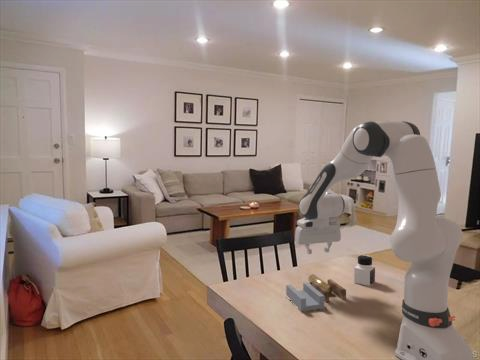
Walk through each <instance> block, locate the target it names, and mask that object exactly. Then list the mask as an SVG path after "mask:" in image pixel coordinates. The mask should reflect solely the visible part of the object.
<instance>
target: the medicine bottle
mask: <svg viewBox="0 0 480 360" xmlns="http://www.w3.org/2000/svg"><path fill="white" fill-rule="evenodd" d="M353 271H354V273H353V280H354V281H353V283H354V284H358V285H361V286H366V287H371V286H372V285H373V284H374V283H375V282H376V266H374V265H373V258H372V256H370V255H367V254H361V255H359V256H357V265H355V267H354V270H353Z"/></svg>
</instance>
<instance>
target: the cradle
mask: <svg viewBox="0 0 480 360" xmlns="http://www.w3.org/2000/svg"><path fill="white" fill-rule="evenodd" d="M285 288H286V289H285V294H286V295H287V296H288V297H289V298H290V299H291V301H292V302H293V303H294V304H295V305H296V306H297V307H298V309H299V310H300V311H305V312H309V311H308V310H313V311H318V310H317V309H320V310H325V301H324V295H323V294H321V293H320V292H319V291H318V290H316V289H315V288H314V287H313V286H312V284H311V283H310V282H303V283H302V290H298V289H296V287H294V286H293V285H292V284H286V285H285ZM291 301H290V302H291ZM292 302H291V303H292ZM293 303H292V304H293ZM294 304H293V305H294ZM295 305H294V306H295ZM298 309H297V310H298ZM299 310H298V311H299ZM300 311H299V312H300Z"/></svg>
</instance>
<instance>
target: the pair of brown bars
mask: <svg viewBox="0 0 480 360" xmlns="http://www.w3.org/2000/svg"><path fill="white" fill-rule="evenodd" d="M327 284H328V285H330V286H331V287H332V293H333V294H334V295H335V296H337V297H338V298H339V299H340V300H342V301H346V300H347V289H345V288H344V287H342V286H341V285H340V284H338V283H337V282H335V281H334V280H332V279H329V278H328V279H327ZM311 286H313V287H314V288H315V289H316V290H318V291H319V292H320V293H321V294H323V295H324V303H329V302H330V294H329V291H327V290H326V289H325V288H323V287H322V286H321V285H319V284H318V283H317V282H315V281H312V284H311Z"/></svg>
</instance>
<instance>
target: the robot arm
mask: <svg viewBox="0 0 480 360" xmlns="http://www.w3.org/2000/svg"><path fill="white" fill-rule="evenodd" d="M383 156H385V157H387V158H389V159H390V161H391V163H392V167H393V168H392V170H393V176H394V179H395V180H394V181H395V187H396V194H397V198H398V200H397V203H398V204H397V205H398V207H397V208H398V209H397V216H396V217H397V218H396V225H395V227H394V230H393V231H392V232H391V235H390V237H389V245H390V248H391V251H392V252H393V254H394V255H395V257H396V258H398V259H400V260H401V261H403V262H406V263H407V262H408V263H410V266H409V267H408V269H407V270H406V272H405V275H404V288H403V289H404V291H403V299H402V301H401V302H402V304H401V313H402V319H401V322H400V327H399V328H400V329H399V335H398V340H397V343H396V348H395V350H394V351H395V352H394V356H396V357H397V358H399V359H401V360H474V353H473V350H472V348H471V347H470V345H469V344H468V341H467V340H466V339H465V338H463V337H462V335H461V334H460V333H459V332H458V330H457V329H456V327H454V325H453V322H454V321H456V319H455V318H456V316H455V315H453V316H451V313H450V310H449V307H448V297H449V296H448V294H449V292H448V291H449V281H450V276H451V272H452V269H453V267H454V261H455V258H456V253H457V251H458V249H459V247H460V245H461V244H462V241H463V235H464V234H463V231H462V228H461V227H460V225H459V224H458V223H457V222H456V221H454V220H452V219H450V218H445V217H439V216H437V211H438V205H439V201H440V200H441V198H442V193H441V188H440V182H439V178H438V177H439V176H438V172H437V166H436V161H435V159H434V155H433V152H432V149H431V146H430V145H429V142H428V140H427V138H425V137H424V136H423V135H421V132H420V129H419V128H418V126H417V125H415V124H414V123H412V122H410V121H404V120H402V121H397V120H396V121H395V120H387V119H386V120H377V121H366V122H363V123H361V124H358V125H356V126H355V127H354V128H353V129H352V130H351V131H350V132H349V134H348V135H347V137H346V139H345V141H344V143H343V144H342V146H341V147H340V150H339V152H338V153H337V155H335V157H334V158H333V159H332V160H331V161H329V162H328V163H327V164H325V166H324V167H323V168H322V169H321V171H320V172H319V174H318V175H317V177H316V179H315V180H314V181H313V183H312V184H311V185H310V186H309V189H308V190H307V192H306V193H305V194H304V195H302V198H300V201H299V202H298V203H299V204H298V210H299V213H300V215H301V216H302V218H300V219H298V220H297V221H296V224H297V226H296V229H295V232H294V233H295V237H294V239H295V240H294V241H295V242H296V244H298V245H300V246H302V245H304V247H305V248H306V254H307V255H312V254H313V253H312V250H313V249H311V248H309V247H310V246H311V245H313V244H325V243H326V247H324V249H323V252H325V253H330V249H331V247H332V245H333V243H334V242H335V243H336V242H337V243H338V242H340V241H341V239H342V235H341V223H340V221H338V220H336V219H332V220H331V219H330V218H338V217H341V216H342V215H343V214H344V212H345V208H346V204H345V199H344V198H343V197H342V195H340V194H339V193H336V192H335V191H333V190H331V189H330V188H331V187H332V186H333V185H335V184H337V183H340V182H342V181H343V182H344V181H346V180H350V179H353V178H354V179H355V178H357V177H359V176H361V175H362V174H363V173H365V171H366V169H368V167H369V165H370V163H371V161H372V159H373V157H374V158H382V157H383Z"/></svg>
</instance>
